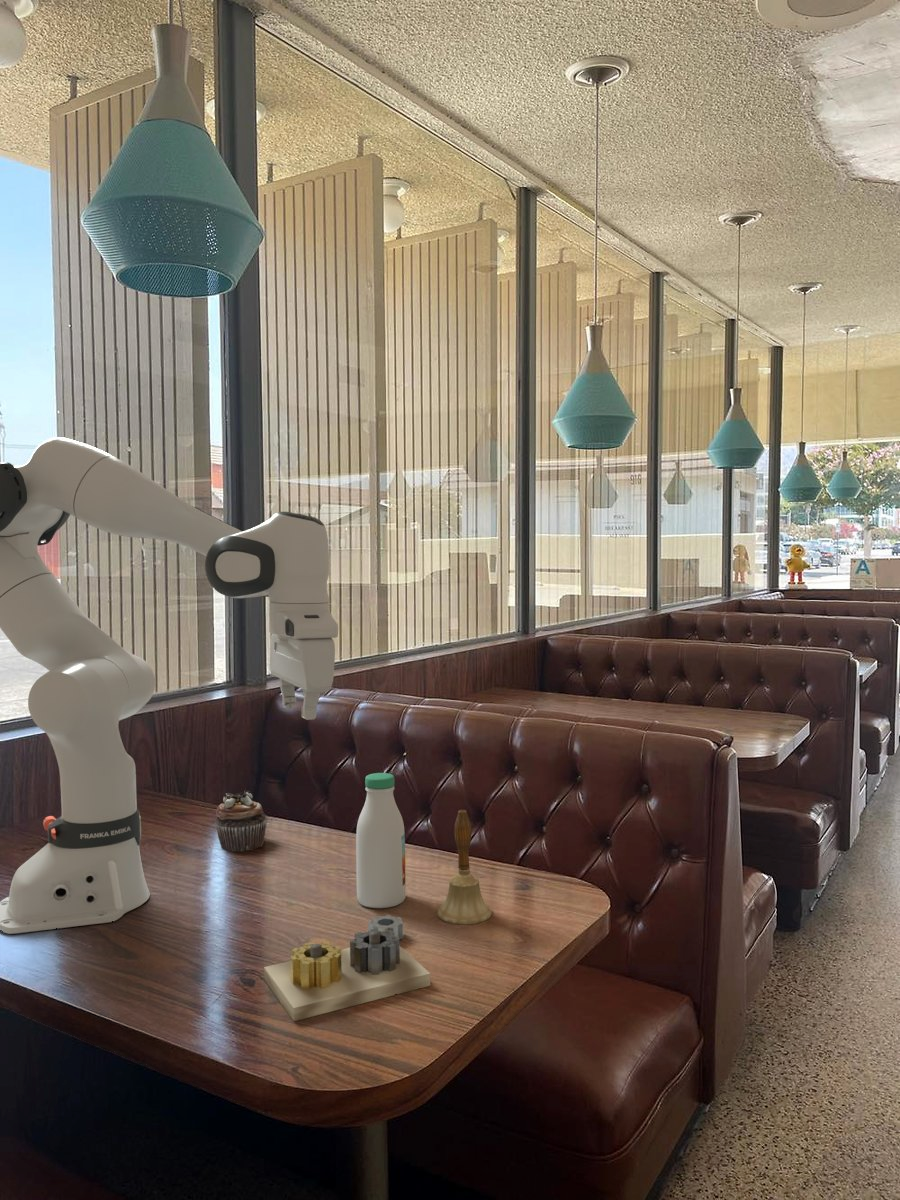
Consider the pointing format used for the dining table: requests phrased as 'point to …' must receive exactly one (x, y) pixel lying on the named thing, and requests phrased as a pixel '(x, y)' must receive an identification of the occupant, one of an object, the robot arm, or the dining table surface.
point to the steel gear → (374, 952)
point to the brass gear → (315, 966)
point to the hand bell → (464, 883)
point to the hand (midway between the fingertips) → (298, 713)
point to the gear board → (344, 984)
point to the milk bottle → (380, 846)
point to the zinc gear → (388, 925)
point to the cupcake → (240, 822)
